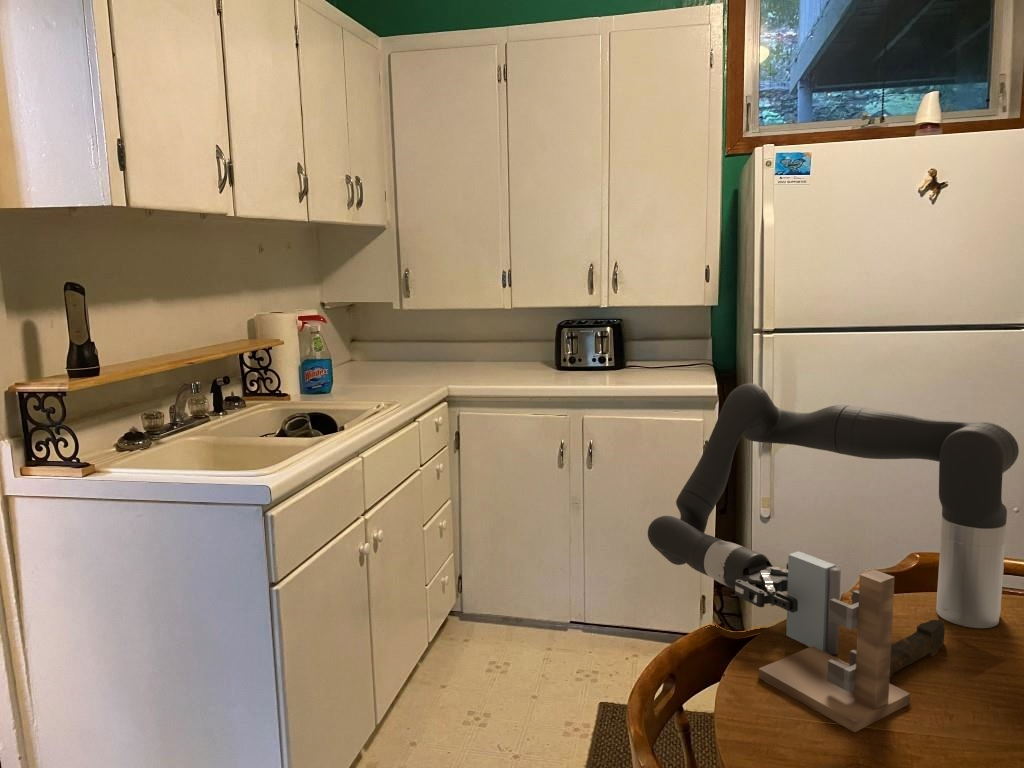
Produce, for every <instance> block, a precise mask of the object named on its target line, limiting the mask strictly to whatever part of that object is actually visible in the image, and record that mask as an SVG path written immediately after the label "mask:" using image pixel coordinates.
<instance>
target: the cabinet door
mask: <svg viewBox="0 0 1024 768" xmlns="http://www.w3.org/2000/svg"><path fill="white" fill-rule="evenodd" d="M787 557H788V558H787V559H788V560H787V563H788V592H787V591H786V592H787V593H786V594H787V595H789V596H791V597H794V598H796V599H797V601H798V610H797V611H796V612H794V613H792V612H790V611H788V610H786V636H787V637H789V638H791V639H793V640H795V641H797V642H799V643H801V644H803V645H805V646H807V647H808V648H809V647H812V646H814V647H816V648H818V649H820V650H822V651H824V652H826V653H828V654H830V655H832V656H835V655H837V654H839V652H838V651H839V626H840V625H839V624H837V623H834V622H832V621H830V600H831V599H837V600H839V601H841V575H842V573H841V572H842V571H841V570H842V569H840V568H838V567H836V566H837V565H836V564H834V563H831V562H828V561H827V560H823V559H820V558H818V557H815V556H813V555H810V554H807V553H806V552H805V553H804V552H802V551H795V552H792V553H789V554H788V556H787Z"/></svg>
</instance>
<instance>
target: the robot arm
mask: <svg viewBox="0 0 1024 768" xmlns="http://www.w3.org/2000/svg"><path fill="white" fill-rule="evenodd" d="M719 412H720V413H719V414H718V417H717V420H716V422H715V424H714V426H713V429H712V432H711V434H710V436H709V439H708V441H707V444H706V446H705V448H704V450H703V453H702V454H701V457H700V458H699V461H698V462H697V465H696V466H695V468H694V470H693V471H692V473H691V474H690V477H689V478H688V479H687V481H686V483H685V484H684V486H683V487H682V489H681V491H680V493H679V494H678V496H677V498H676V500H675V506H676V507H677V509H678V511H679V514H680V518H678V517H676V516H672V515H662V516H659V517H657V518H655V519H653V520H652V521H651V523H650V524H649V526H648V529H647V538H648V540H649V541H648V542H649V543H650V544H651V546H652V547H653V548H654V549H655V550H656V551H658V552H659V553H660V554H661V555H662V556H663V557H664V558H665V559H666V560H667V561H669V562H670V563H671V564H672V565H676V566H682V565H686V564H687V565H688V566H689V567H690V568H692V569H693V570H695V571H697V572H699V573H701V574H703V575H705V576H708V577H709V578H712V579H713V580H714V581H716V582H718V583H719V584H722V585H724V586H726V587H728V588H731V590H734V591H735V596H736V597H738V598H739V599H742V600H744V601H746V602H749V603H750V604H752V605H754V606H756V607H758V608H764V607H765V605H767V606H770V607H773V606H776V607H779V608H781V609H783V610H785V611H787V610H788V611H790V612H792V613H794V612H796V611H797V610H798V601H797V599H796V598H794V597H791V596H789V595H787V593H784V592H788V562H787V563H786V568H782V567H779V566H773V565H772V563H771V562H770V560H769V558H768V557H767V556H766V555H765V554H763V553H760V552H758V551H755V550H753V549H750V548H748V547H745V546H743V545H740V544H737V543H734V542H731V541H725V540H723V539H721V538H718V537H716V536H712V535H709V534H707V533H705V531H706V529H707V525H708V521H709V517H710V515H711V513H712V512H713V510H714V509H715V507H716V505H717V503H718V502H719V500H720V499H721V497H722V495H723V493H724V492H725V489H726V487H727V484H728V481H729V478H730V477H729V476H730V473H731V468H732V463H733V459H734V455H735V451H736V449H737V447H738V443H739V441H740V439H741V437H743V438H744V439H746V440H748V441H751V442H756V443H762V444H763V443H765V444H766V443H767V444H780V445H781V444H782V445H793V446H799V447H804V448H808V449H815V450H819V451H820V450H821V451H826V452H830V453H835V454H840V455H844V456H845V455H846V456H850V457H856V458H863V459H870V460H903V459H905V460H906V459H907V460H910V459H912V460H915V459H917V460H929V461H933V462H938V499H939V502H940V505H941V527H940V529H941V530H940V545H939V560H938V561H939V562H938V563H939V564H938V575H937V576H938V577H937V578H938V579H937V589H936V590H937V591H936V593H937V594H936V609H935V610H936V613H937V615H938V616H939V617H940V618H942V619H943V620H945V621H947V622H949V623H952V624H955V625H958V626H962V627H965V628H966V627H968V628H971V629H972V628H973V629H988V628H989V629H990V628H993V627H995V626H997V625H998V624H999V623H1000V617H1001V607H1002V595H1003V584H1004V583H1003V582H1004V569H1005V568H1004V566H1005V564H1004V562H1005V561H1004V560H1005V546H1006V533H1007V520H1008V517H1007V516H1008V509H1007V507H1006V505H1004V503H1003V501H1002V497H1003V496H1002V495H1003V493H1002V492H1003V491H1002V490H1003V489H1002V488H1003V474H1004V473H1005V472H1007V471H1008V470H1009V469H1011V468H1012V466H1013V465H1014V464H1015V463H1016V461H1017V459H1018V457H1019V452H1020V450H1019V444H1018V441H1017V440H1016V438H1015V436H1013V434H1012V433H1011V432H1009V431H1008V429H1005V428H1004V427H1003V426H1000V425H999V424H996V423H992V422H986V421H971V420H970V421H966V420H965V421H964V420H963V421H962V420H960V421H959V420H947V419H946V420H944V419H943V420H942V419H932V418H931V419H930V418H923V417H918V416H914V415H908V414H903V413H900V412H899V413H898V412H894V411H887V410H880V409H876V408H875V409H874V408H869V407H863V406H862V407H861V406H855V405H848V404H847V405H846V404H834V405H830V406H826V407H824V408H820V409H818V410H814V411H812V412H797V411H791V410H786V409H783V408H779V407H778V406H776V405H775V404H774V402H773V400H772V399H771V397H770V395H768V393H767V391H766V390H765V389H764V388H763V387H762V386H761V385H759V384H756V383H751V382H749V383H743V384H740V385H739V386H737V387H736V388H734V389H732V391H731V392H730V393H729V394H728V395H727V397H726V399H725V401H724V403H723V405H722V407H721V410H720V411H719ZM755 596H756V597H755Z"/></svg>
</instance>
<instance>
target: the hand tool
mask: <svg viewBox="0 0 1024 768" xmlns="http://www.w3.org/2000/svg"><path fill="white" fill-rule="evenodd" d="M945 632H946V631H945V624H944V622H943V620H940V619H931V620H929V621H927V622H922V623H920V624H918V625H917V626H916V631H915V632H913V633H912V634H911V635H908V636H906V637H904V638H902V639H899V640H898V641H896V642H895V643H891V659H890V679H891V677H892V676H893V674H895V673H897V672H898V671H900V670H901V669H903V668H904V667H908V666H911V664H912V663H915V662H917V661H918V660H919V659H922V658H924V657H925V656H928V657H932V656H934V655H935V654H936V653H938V652H939V651H940V650H941V648H942V646H943V644H944V643H945V634H946V633H945Z"/></svg>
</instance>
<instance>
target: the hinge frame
mask: <svg viewBox="0 0 1024 768" xmlns="http://www.w3.org/2000/svg"><path fill="white" fill-rule="evenodd" d="M895 579H896V578H895V576H893V575H891V574H887V573H884V572H882V571H879V570H876V569H871V570H869V571H865V572H863V573H861V574H859V583H858V584H859V585H858V586H859V589H855V590H852V596H851V597H852V598H851V599H852V600H851V602H852V603H851V604H849V603H847V602H844V601H841V600H840V601H839V600H837V599H831V600H830V621H832V622H834V623H837V624H839V626H841V627H844V628H846V629H848V630H851V631H852V630H854V629H857V630H856V632H857V634H856V649H852V650H850V651H849V663H848V662H846V661H844V660H843V659H840V658H838V657H836V656H835V655H832V654H829V653H827V652H824V651H822V650H820V649H818V648H816V647H814V646H812V647H809V646H808V648H807V647H806V648H805V649H802V650H800V651H797V652H794V653H793V654H791V655H788V656H786V657H783V658H781V659H778V660H776V661H774V662H772V663H769V664H766V665H764V666H761V667H759V668H758V679H760V680H761V679H762V680H761V681H763V680H764V681H763V682H765V681H766V682H765V683H767V684H768V683H769V684H768V685H770V684H771V685H770V686H772V687H774V688H776V689H778V690H780V691H781V692H783V693H784V694H787V695H788V696H790V697H791V698H793V699H794V700H797V701H798V702H800V703H801V704H804V705H805V706H807V707H809V708H811V709H812V710H814V711H816V712H818V713H819V714H821V715H823V716H825V717H827V718H828V719H830V720H832V721H833V722H835V723H837V724H839V725H841V726H842V727H844V728H846V729H848V730H849V731H850V732H853V733H856V732H858V731H860V730H863V729H864V728H866V727H868V726H870V725H871V724H873V723H876V722H877V721H879V720H881V719H883V718H885V717H887V716H889V715H891V714H893V713H894V712H897V711H899V710H900V709H902V708H904V707H907V706H909V705H910V704H911V693H910V692H908V691H906V690H904V689H902V688H899V687H897V686H895V685H893V684H892V683H890V679H891V678H890V659H891V645H892V637H893V636H892V635H893V634H892V633H893V620H894V619H893V616H894V615H893V614H894V598H895V597H894V596H895V595H894V594H895Z"/></svg>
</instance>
